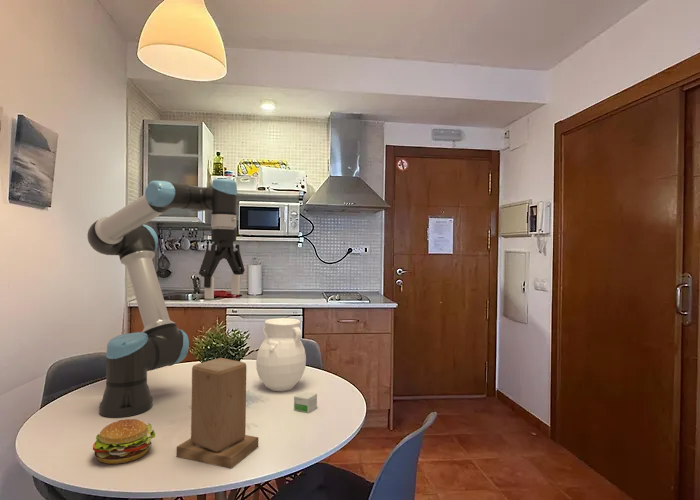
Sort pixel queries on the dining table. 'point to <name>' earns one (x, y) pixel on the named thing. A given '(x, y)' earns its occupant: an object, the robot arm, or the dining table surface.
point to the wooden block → (218, 403)
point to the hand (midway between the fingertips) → (222, 296)
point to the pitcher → (281, 354)
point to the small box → (305, 402)
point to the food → (123, 441)
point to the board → (218, 452)
